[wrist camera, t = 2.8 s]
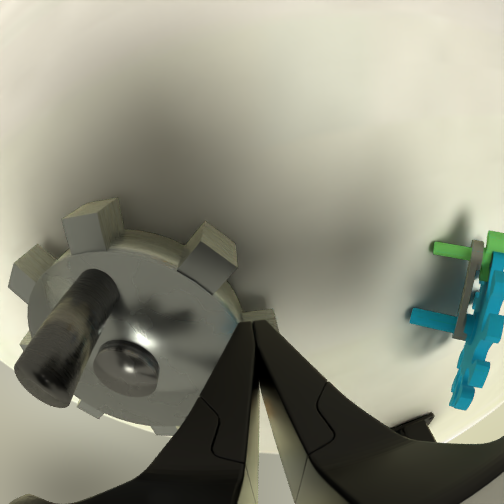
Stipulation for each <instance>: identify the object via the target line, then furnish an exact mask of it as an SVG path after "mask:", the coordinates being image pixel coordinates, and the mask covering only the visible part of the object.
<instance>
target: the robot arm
mask: <svg viewBox="0 0 504 504" xmlns="http://www.w3.org/2000/svg"><path fill="white" fill-rule="evenodd" d="M259 384H260V389H261V393H262V397H263V400H264V404H265V407H266V411H267V414H268V418H269V421H270V425H271V428H272V431H273V435H274V438H275V441H276V445H277V448H278V451H279V455H280V458H281V461H282V465H283V467H284V471H285V474H286V477H287V481H288V484H289V487H290V490H291V493H292V496H293V499H294V502H295V504H504V436H503V437H501V438H500V439H498V440H496V441H493V442H490V443H484V444H451V443H437V442H436V440H435V438H434V436H433V434H432V433H431V431H430V429H429V427H428V425H429V424H430V422H431V421H432V419H433V418H434V414H433V413H431V414H428V415H426V416H424V417H421V418H419V419H417V420H414V421H412V422H409V423H407V424H404V425H401V426H399V427H396V428H393V429H390V428H389V427H387V426H386V425H384V424H383V423H381V422H380V421H378V420H377V419H375V418H374V417H372V416H371V415H369V414H368V413H366V412H365V411H364V410H362V409H361V408H359V407H358V406H357V405H355V404H354V403H353V402H351V401H350V400H349V399H348V398H346V397H345V396H344V395H343V394H342V393H341V392H340V391H339V390H337V389H336V388H335V387H334V386H333V385H332V384H331V383H330V382H327V379H326V378H325V377H324V376H323V375H322V374H320V373H319V372H318V371H317V370H316V369H315V368H314V367H313V366H312V365H311V364H310V363H309V362H308V361H307V360H306V359H305V358H304V357H303V356H302V355H301V354H300V353H299V352H298V351H297V350H296V349H295V348H294V347H293V346H292V345H291V344H290V343H289V342H288V341H287V340H286V339H285V338H284V337H283V336H282V335H281V334H280V333H279V332H278V331H277V330H276V329H275V328H274V327H273V326H272V325H271V324H270V323H269V322H268V321H267V320H265V319H263V320H254V321H253V323H252V322H251V321H244V322H239V323H238V324H237V326H236V328H235V330H234V332H233V334H232V336H231V338H230V339H229V341H228V343H227V345H226V347H225V349H224V351H223V352H222V354H221V356H220V358H219V360H218V362H217V364H216V365H215V367H214V369H213V371H212V373H211V375H210V377H209V378H208V380H207V382H206V384H205V386H204V388H203V389H202V391H201V393H200V395H199V397H198V398H197V400H196V402H195V404H194V406H193V407H192V409H191V411H190V412H189V414H188V415H187V417H186V419H185V420H184V422H183V423H182V424H181V426H180V427H179V429H178V430H177V431H176V433H175V434H174V435H173V437H172V438H171V439H170V441H169V442H168V443H167V444H166V446H165V447H164V448H163V449H162V451H161V452H160V453H159V454H158V456H157V457H156V458H155V459H154V461H153V462H152V463H151V464H150V465H149V467H148V468H147V469H146V470H145V471H144V472H142V473H141V474H140V475H139V476H137V477H136V478H134V479H133V480H131V481H128V482H126V483H124V484H122V485H119V486H117V487H115V488H113V489H110V490H107V491H105V492H103V493H100V494H97V495H95V496H93V497H90V498H87V499H84V500H81V501H78V502H74V503H69V504H258V466H259V403H260V390H259ZM9 504H56V503H52V502H49V501H46V500H44V499H41V498H39V497H37V496H34V495H31V494H26V495H24V496H21V497H19V498H17V499H15V500H13V501H12V502H10V503H9Z"/></svg>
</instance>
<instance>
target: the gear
mask: <svg viewBox="0 0 504 504" xmlns="http://www.w3.org/2000/svg"><path fill="white" fill-rule="evenodd" d="M433 254H435V255H440V256H446V257H452V258H457V259H463V260H469V263H468V269H467V274H466V280H465V285H464V289H463V294H462V298H461V302H460V307H459V311H458V314H457V317H456V316H451V315H446V314H442V313H437V312H432V311H428V310H423V309H419V308H413V310H412V314H411V318H410V323H411V324H415V325H420V326H424V327H428V328H433V329H437V330H441V331H446V332H450V333H453V335H452V338H454V339H459V340H463V341H466V343H465V345H464V348H463V350H462V352H461V354H460V356H459V360H458V364H457V368H458V369H459V370H458V372H457V375H456V377H455V379H454V382H453V384H452V389H451V392H453V395H452V398H451V400H450V403H449V406H452V407H454V408H456V409H461V410H467V408H468V407H469V406H470V404H471V402H472V400H473V397H474V393H475V389H474V387H478V388H482V387H483V385H484V382H485V380H486V378H487V375H488V372H489V369H490V362H486V361H485V358H486V355H487V352H488V350H489V348H490V347H491V345H492V344H493V343H499V341H500V339H501V336H502V331H503V325H504V316H502V315H498V314H499V311H500V308H501V305H502V302H503V300H504V272H503V270H504V233H500V232H495V231H488V236H487V244H486V248H484V242H483V241H477V240H472V244H471V248H470V247H465V246H459V245H453V244H447V243H441V242H435V244H434V251H433ZM476 270H478V271H480V274H479V284H481V286H480V292H475V296H474V301H473V306H472V309H474V313H473V315H471V314H466V312H467V308H468V304H469V300H470V296H471V292H472V287H473V282H474V277H475V272H476Z"/></svg>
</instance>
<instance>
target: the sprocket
mask: <svg viewBox="0 0 504 504" xmlns="http://www.w3.org/2000/svg"><path fill="white" fill-rule="evenodd" d="M62 223H63V226H64V230H65V234H66V238H67V241H68V245H69V249H68V250H67V251H66V252H65V253H64V254H63V255H62V256H61V257H60V258H59V259H58V260H57V259H56V258H54V257H53V256H52V255H51V254H49V253H48V252H47V251H46V250H45V249H43V248H42V247H41V246H40V245H39V244H37V245H35V246H34V247H33V248H32V249H30V250H29V251H28V252H27V253H25V254H24V255H23V256H22V257H21V258H19V259H18V260H17V261H16V262H15V263H14V264H13V268H12V272H11V276H10V280H9V285H8V288H10V289H11V290H12V291H13V292H14V293H15V294H16V295H17V296H19V297H20V298H21V299H22V300H23V301H24V302H26V303H27V304H28V324H29V331H28V333H27V334H26V336H25V337H24V338H23V340H22V341H21V343H20V346H21V348H22V349H23V353H22V354H21V356H20V358H19V359H18V361H17V362H16V364H15V366H14V370H15V374H16V376H17V378H18V380H19V381H20V383H21V384H22V385H23V386H24V388H25V389H26V390H28V392H29V393H31V394H32V395H33V396H34V397H36V398H37V399H39V400H40V401H42V402H44V403H46V404H48V405H50V406H53V407H58V408H65V407H67V406H69V404H70V402H71V399H72V397H73V395H75V396H76V397H78V398H79V402H78V404H77V407H78V408H79V409H81V410H83V411H85V412H86V413H88V414H90V415H92V416H94V417H96V418H97V419H99V418H100V417H101V416H102V415H103V414H104V413H105V414H108V415H110V416H113V417H115V418H118V419H121V420H125V421H128V422H132V423H136V424H142V425H148V426H151V428H152V429H153V431H154V432H155V434H156V435H165V436H173V435H174V434H175V433H176V431H177V430H178V429H179V427H180V426H181V424H182V423H183V422H184V420H185V419H186V417H187V415H188V414H189V412H190V411H191V409H192V407H193V406H194V404H195V402H196V400H197V398H198V397H199V395H200V393H201V391H202V389H203V388H204V386H205V384H206V382H207V380H208V378H209V377H210V375H211V373H212V371H213V369H214V367H215V365H216V364H217V362H218V360H219V358H220V356H221V354H222V352H223V351H224V349H225V347H226V345H227V343H228V341H229V339H230V338H231V336H232V334H233V332H234V330H235V328H236V326H237V324H238V323H239V322H244V321H251V322H252V323H253V321H254V320H263V319H265V320H267V321H268V322H269V323H270V324H271V325H272V326H273V327H274V328H275V329H276V330H277V331H278V332H279V329H278V325H277V322H276V318H275V314H274V310H273V309H266V310H258V311H248V312H243V311H242V308H241V305H240V303H239V300H238V298H237V296H236V294H235V292H234V291H233V289H232V287H231V286H230V284H229V283H228V282H227V279H228V278H229V277H230V276H231V275H232V273H233V272H234V271H235V270H236V269H237V268H238V265H237V254H236V244H235V243H234V242H233V241H231V240H230V239H229V238H227V237H226V236H225V235H224V234H222V233H221V232H220V231H218V230H217V229H216V228H214V227H213V226H212V225H210V224H209V223H208V222H206V221H204V223H203V224H202V225H201V226H200V227H199V229H198V230H197V231H196V232H195V234H194V235H193V236H192V237H191V239H190V240H189V241H188V242H187V244H186V245H183V244H181V243H179V242H177V241H174V240H172V239H170V238H167V237H164V236H161V235H158V234H155V233H150V232H145V231H140V230H128V229H124V224H123V220H122V215H121V210H120V205H119V199H118V197H117V198H112V199H106V200H101V201H95V202H90V203H86V204H84V205H83V206H81V207H79V208H78V209H76V210H75V211H73V212H72V213H70V214H69V215H67V216H66V217H64V218H63V219H62Z"/></svg>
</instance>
